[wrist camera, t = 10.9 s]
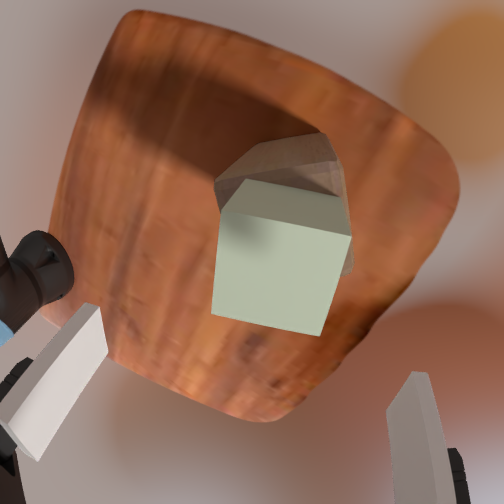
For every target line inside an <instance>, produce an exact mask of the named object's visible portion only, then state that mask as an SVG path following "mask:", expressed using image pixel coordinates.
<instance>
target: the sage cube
mask: <svg viewBox="0 0 504 504" xmlns="http://www.w3.org/2000/svg"><path fill="white" fill-rule="evenodd" d="M351 238H352V235H351V232H350V228H349V224H348V221H347V217H346V214H345V210H344V207H343V203H342V200H341V197H336V196H332V195H327V194H322V193H318V192H313V191H308V190H303V189H298V188H293V187H288V186H283V185H278V184H273V183H267V182H262V181H257V180H251V179H245V180H244V182H243V183H242V184H241V185H240V187H239V188H238V189H237V190H236V192H235V193H234V194H233V196H232V197H231V198H230V199H229V201H228V202H227V203H226V205H225V206H224V207H223V209H222V210H221V217H220V227H219V236H218V246H217V256H216V267H215V277H214V288H213V300H212V311H211V314H215V315H219V316H223V317H228V318H232V319H237V320H241V321H246V322H250V323H255V324H260V325H264V326H269V327H274V328H279V329H284V330H289V331H294V332H299V333H305V334H310V335H315V336H320V334H321V331H322V328H323V325H324V322H325V319H326V317H327V314H328V311H329V308H330V305H331V302H332V299H333V296H334V293H335V290H336V287H337V284H338V280H339V277H340V274H341V271H342V268H343V264H344V261H345V258H346V255H347V251H348V248H349V244H350V241H351Z"/></svg>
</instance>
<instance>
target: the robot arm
mask: <svg viewBox="0 0 504 504" xmlns="http://www.w3.org/2000/svg"><path fill="white" fill-rule="evenodd" d="M73 284H74V271H73V267H72V264H71V261H70V259H69V257H68V255H67V253H66V251H65V250H64V248H63V247H62V246H61V244H60V243H59V242H58V241H57V240H56V239H55V238H54V237H52V236H51V235H50V234H48V233H46V232H44V231H39V230H38V231H37V230H36V231H33V232H31V233H29V234H28V235H26V236H25V237H24V238H23V239H22V240H21V241H20V243H19V245H18V246H17V248H16V249H15V250H14V252H13V253H12V255H11V256H10V257H9V258H8V257H7V254H6V251H5V248H4V245H3V243H2V240H1V237H0V347H1V346H2V345H4V344H5V343H6V342H7V341H8V340H9V339H10V338H12V337H13V336H14V334H15V333H16V332H17V331H18V330H19V329H20V328H21V327H22V326H23V325H24V324H25V323H26V322H27V321H28V320H29V319H30V318H31V316H32V315H34V314H35V312H37V311H38V310H39V309H40V308H41V307H42V306H44V305H46V304H49V303H51V302H54V301H56V300H59V299H61V298H63V297H64V296H65V295H66V294H67V293H68V292H69V291H70V290H71V289H72V287H73ZM107 354H108V348H107V344H106V339H105V334H104V329H103V323H102V318H101V312H100V307H99V306H95V305H92V304H89V303H86V302H85V303H84V304H83V305H82V306H81V307H80V308H79V309H78V311H77V312H76V313H75V314H74V315H73V316H72V317H71V318H70V319H69V321H68V322H67V323H66V324H65V325H64V326H63V327H62V328H61V330H60V331H59V332H58V333H57V334H56V335H55V336H54V338H53V339H52V340H51V341H50V342H49V343H48V344H47V346H46V347H45V348H44V349H43V350H42V352H41V353H40V354H39V355H38V356H37V357H36V359H35V360H32V359H30V358H28V357H27V358H25V359H24V360H22V361H20V362H19V363H17V364H16V365H15V367H14V368H13V369H12V370H11V372H10V374H8V375H7V376H6V377H5V379H4V381H2V382H1V384H0V504H26V501H25V497H24V492H23V488H22V482H21V477H20V472H19V466H18V460H17V454H16V451H15V449H16V447H17V446H18V447H19V448H20V449H21V450H22V452H23V453H25V454H26V455H28V456H29V457H31V458H33V459H34V460H36V461H39V459H40V457H41V456H42V454H43V453H44V451H45V449H46V447H47V446H48V444H49V443H50V441H51V439H52V438H53V436H54V435H55V433H56V431H57V430H58V428H59V427H60V425H61V423H62V422H63V420H64V419H65V417H66V415H67V414H68V412H69V411H70V409H71V408H72V406H73V404H74V403H75V401H76V400H77V398H78V397H79V395H80V394H81V392H82V391H83V389H84V388H85V386H86V385H87V383H88V382H89V380H90V379H91V377H92V375H93V374H94V373H95V371H96V370H97V368H98V367H99V365H100V364H101V362H102V361H103V359H104V358H105V356H106V355H107ZM386 416H387V423H388V432H389V440H390V449H391V459H392V471H393V483H394V499H395V504H471V502H470V496H469V490H468V485H467V481H466V474H465V472H464V470H465V469H464V465H463V460H462V457H461V456H460V454H459V452H458V451H457V449H456V448H448V449H447V447H446V442H445V438H444V433H443V429H442V425H441V420H440V416H439V413H438V409H437V405H436V401H435V398H434V394H433V390H432V387H431V383H430V380H429V376H428V373H424V372H412V373H411V374H410V376H409V377H408V379H407V380H406V382H405V383H404V385H403V386H402V388H401V390H400V391H399V393H398V394H397V395H396V397H395V398H394V400H393V401H392V403H391V404H390V405H389V407H388V408H387V410H386Z"/></svg>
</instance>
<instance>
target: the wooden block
mask: <svg viewBox="0 0 504 504" xmlns="http://www.w3.org/2000/svg"><path fill="white" fill-rule="evenodd" d="M245 179H251V180H257V181H262V182H267V183H273V184H278V185H283V186H288V187H293V188H298V189H303V190H308V191H313V192H318V193H322V194H327V195H332V196H336V197H341V200H342V203H343V207H344V210H345V214H346V217H347V221H348V224H349V228H350V232H351V223H350V215H349V207H348V199H347V192H346V185H345V178H344V172H343V166H342V164H341V162H340V160H339V158H338V156H337V154H336V152H335V150H334V148H333V146H332V144H331V143H330V141H329V139H328V137H327V136H326V134H323V133H313V134H307V135H301V136H295V137H289V138H284V139H278V140H273V141H267V142H262V143H258V144H256V145H255V146H253V147H252V148H251V149H250V150H248V151H247V152H246V153H245V154H244V155H243V156H241V157H240V158H239V159H238V160H237V161H236V162H234V163H233V164H232V165H231V166H230V167H229V168H227V169H226V170H225V171H224V172H223V173H222V174H221V175H220V176H218V177H217V178H216V179H215V183H214V192H215V195H216V199H217V203H218V206H219V210H220V214H221V210H222V209H223V207H224V206H225V205H226V203H227V202H228V201H229V199H230V198H231V197H232V196H233V194H234V193H235V192H236V190H237V189H238V188H239V187H240V185H241V184H242V183H243V182H244V180H245ZM351 235H352V232H351ZM354 263H355V262H354V252H353V242H352V238H351V241H350V244H349V248H348V251H347V255H346V258H345V261H344V264H343V268H342V271H341V274H340V277H341V276H345V275H348V274H350V273H351V271H352V269H353V266H354Z"/></svg>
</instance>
